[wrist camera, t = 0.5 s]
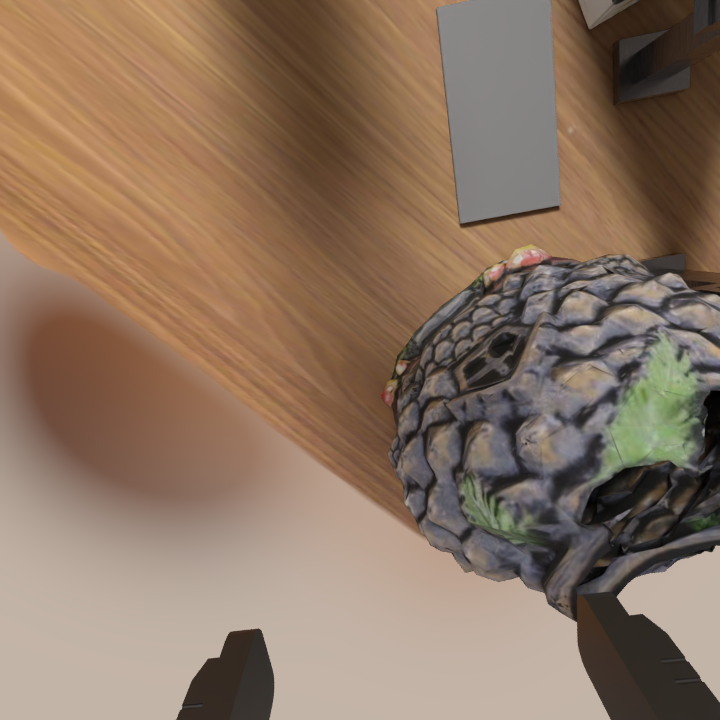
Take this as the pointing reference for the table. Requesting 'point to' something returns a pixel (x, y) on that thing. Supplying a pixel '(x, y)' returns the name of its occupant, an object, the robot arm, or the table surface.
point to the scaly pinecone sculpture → (563, 424)
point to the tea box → (602, 10)
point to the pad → (500, 105)
